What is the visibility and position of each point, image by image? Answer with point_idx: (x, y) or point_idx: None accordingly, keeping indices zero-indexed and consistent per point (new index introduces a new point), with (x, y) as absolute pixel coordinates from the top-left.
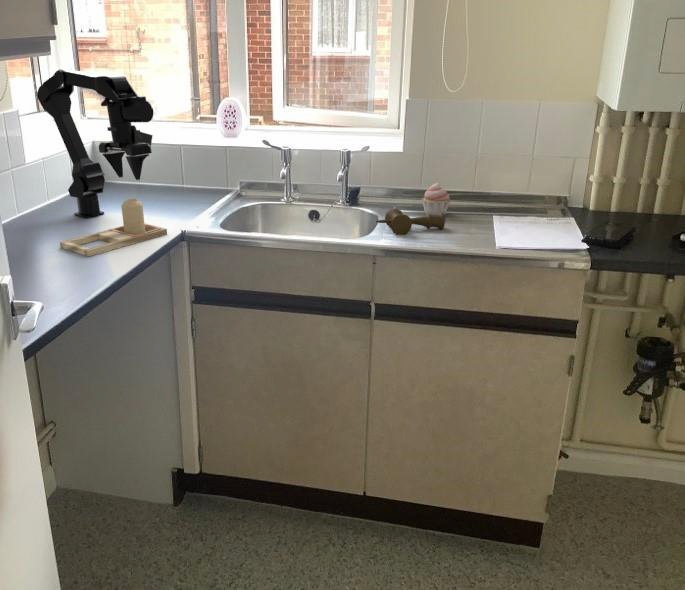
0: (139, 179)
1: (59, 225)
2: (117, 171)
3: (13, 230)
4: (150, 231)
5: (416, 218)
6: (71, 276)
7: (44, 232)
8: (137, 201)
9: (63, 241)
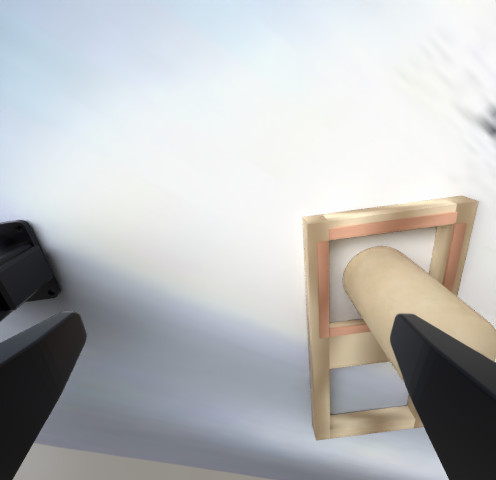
0: (408, 315)
1: (106, 371)
2: (48, 404)
3: (90, 445)
4: (455, 264)
5: None
6: None
7: (157, 412)
8: (487, 351)
9: (317, 434)
